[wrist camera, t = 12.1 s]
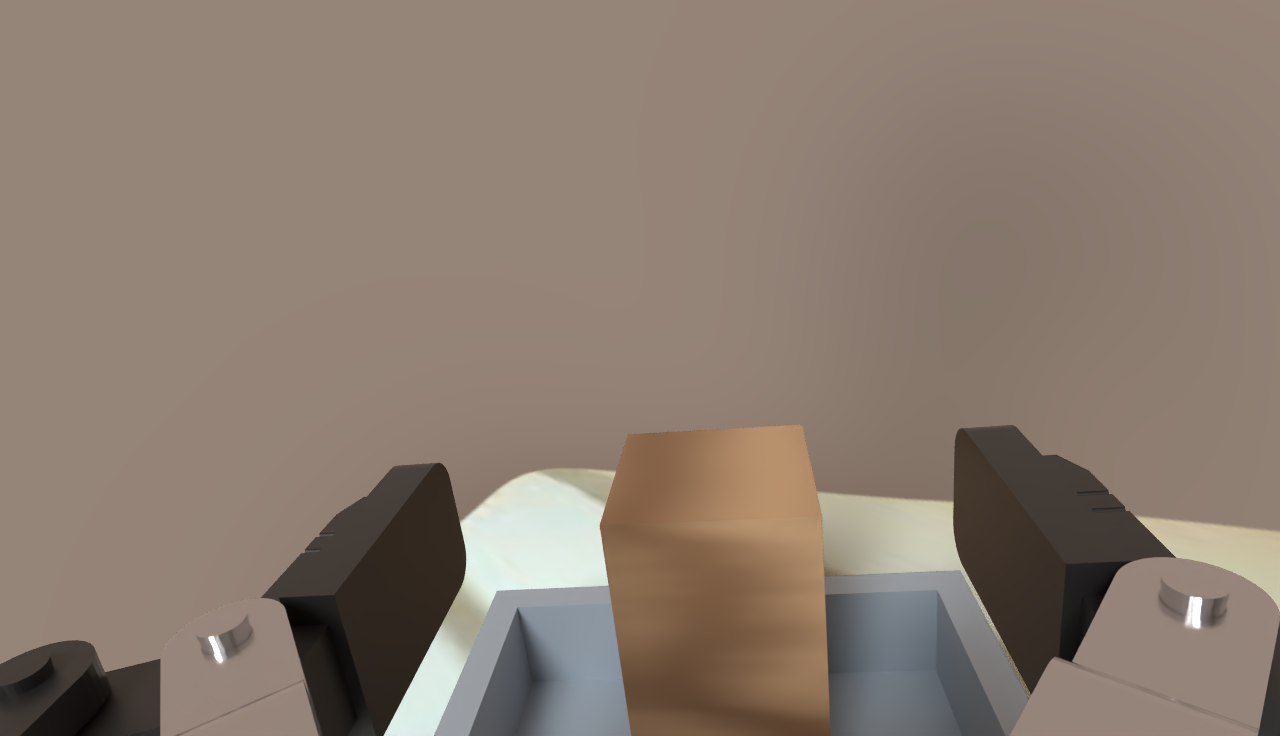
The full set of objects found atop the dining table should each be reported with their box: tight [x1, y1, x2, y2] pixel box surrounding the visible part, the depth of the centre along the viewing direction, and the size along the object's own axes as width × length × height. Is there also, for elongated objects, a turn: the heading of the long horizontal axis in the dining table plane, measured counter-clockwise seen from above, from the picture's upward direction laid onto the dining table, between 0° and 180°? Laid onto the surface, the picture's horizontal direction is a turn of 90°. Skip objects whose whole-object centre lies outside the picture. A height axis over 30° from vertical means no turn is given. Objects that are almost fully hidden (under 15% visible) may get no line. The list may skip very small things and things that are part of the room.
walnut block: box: [600, 425, 831, 736], centre depth 21 cm, size 5×5×10 cm
